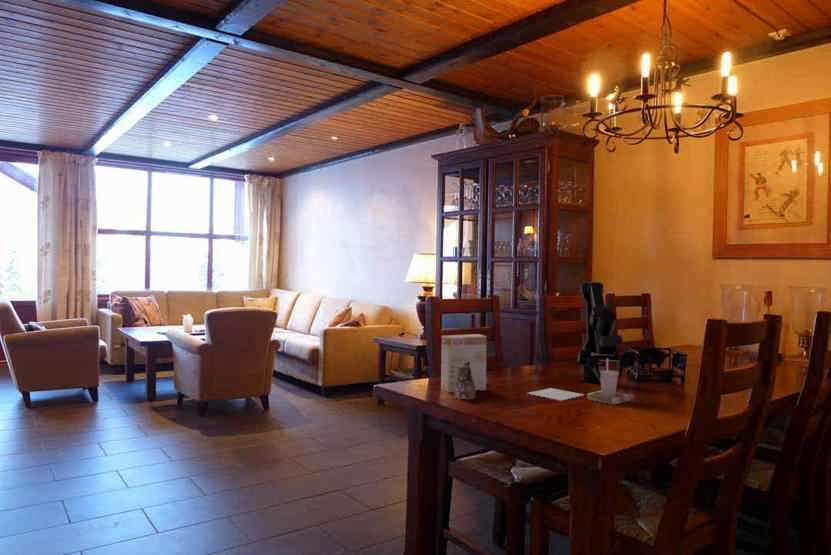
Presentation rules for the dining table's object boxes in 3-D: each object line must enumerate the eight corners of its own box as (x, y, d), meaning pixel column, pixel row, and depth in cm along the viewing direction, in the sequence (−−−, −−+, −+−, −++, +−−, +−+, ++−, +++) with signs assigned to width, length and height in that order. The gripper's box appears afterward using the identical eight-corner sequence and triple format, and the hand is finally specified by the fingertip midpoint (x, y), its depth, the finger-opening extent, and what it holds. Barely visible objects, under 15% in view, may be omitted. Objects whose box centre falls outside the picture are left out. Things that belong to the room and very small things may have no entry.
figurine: (449, 397, 199) (450, 361, 198) (462, 394, 204) (463, 359, 204) (466, 400, 194) (467, 364, 194) (479, 397, 199) (480, 362, 199)
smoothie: (595, 398, 201) (596, 357, 201) (613, 398, 201) (614, 357, 201) (602, 402, 194) (603, 359, 194) (621, 402, 195) (622, 360, 195)
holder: (602, 395, 205) (602, 389, 205) (629, 400, 198) (630, 394, 198) (587, 399, 198) (587, 393, 198) (614, 405, 191) (614, 398, 191)
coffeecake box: (477, 386, 217) (478, 333, 217) (486, 390, 211) (487, 335, 210) (440, 389, 212) (440, 334, 212) (448, 393, 206) (448, 337, 205)
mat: (550, 389, 215) (550, 388, 215) (584, 395, 205) (584, 394, 205) (527, 394, 206) (527, 393, 206) (561, 401, 195) (561, 400, 195)
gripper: (579, 325, 203) (583, 362, 192) (636, 327, 200) (643, 365, 189) (576, 345, 211) (579, 382, 200) (630, 347, 208) (637, 384, 197)
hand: (609, 378), depth 196 cm, fingers closed on smoothie, 6 cm apart
